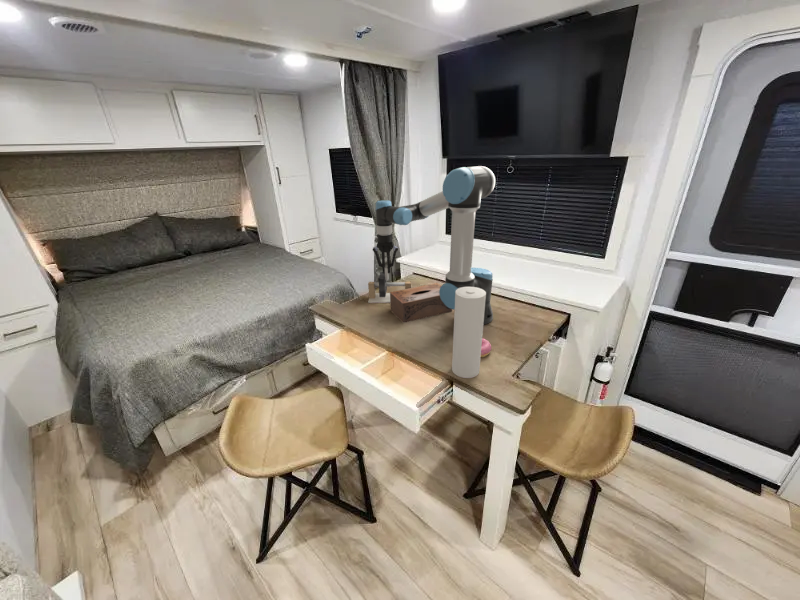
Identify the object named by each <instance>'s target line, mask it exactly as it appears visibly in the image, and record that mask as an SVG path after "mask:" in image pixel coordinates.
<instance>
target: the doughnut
mask: <svg viewBox="0 0 800 600" xmlns="http://www.w3.org/2000/svg"><path fill="white" fill-rule="evenodd" d="M491 352H492V344H491V343H490V341H489V340H487V339H485V338H484V337H482V346H481V357H480V358H484V357H487V356H488V355H489V354H490V353H491Z"/></svg>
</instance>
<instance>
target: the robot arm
mask: <svg viewBox="0 0 800 600" xmlns="http://www.w3.org/2000/svg"><path fill="white" fill-rule="evenodd" d="M495 186H496V176H495V174H494V173H493V171H492V170H491V169H490V168H488V167H486V166H482V165H478V166H467V167H466V166H462V167H458V168H455V169H452V170H451V171H450V172H449V173H448V174H447V175H446V176H445V178H444V180H443V183H442V191H439V192H438V193H436V194H434V195H431V196H429V197H427V198H425V199H422V200H421V201H418V202H417V203H414V204H408V205H403V206H393V205H392V201H391V200H388V199H387V200H385V199H384V200H377V201H375V221H376V222H375V223H376V233H377V235H376V238H377V239H376V240H377V243H376V245H375V246H373V248H372V251H373V253H374V255H375V258H376V259H375V260H376V261H377V264H378V267H380V268H381V269H382V272H383V274H385V280H386V281H389V274H391V268H392V267H394V264H395V259H396V256H397V252H398V250H399V247H398V246H396V245H395V244H394V239H393V238H394V237H393V234H392V233H393V224H394V225H399V226H407V225H410V223H411V222H416V221H422V220H425V219H427V218H429V216H432V215H435V214H437V213H439V212H441V211H445V210H446V209H450V210H451V226H450V227H451V229H450V231H451V232H450V253H449V254H450V255H449V271H448V272H447V273H446V274H445V279H444V280H445V281H444V282H445V283H443V284H441V287H440V290H439V294H440V298H441V300H442V302H443V303H444V304H445V305H446V306H447V307H448V308H450V309H452V310H454V311H455V291H456V290H457V289H458V288H461V287H477V288H480V289H483V290H484V291H485V292H486V299H485V311H484V322H483V325H487V324H489V323H492V321H493V319H494V312H493V309H492V306H491V305H492V304H491V300H492V299H491V298H492V287H493V272H492V271H491V270H489V269H486V268H482V267H472V265H473V249H474V237H475V225H476V223H475V222H476V212H477V211H478V210H479V209H480V208H481V201H482V200H481V199H485V198H486V197H488V196H489V195H491V194H492V192H493V191H494V188H495ZM392 250H393V254H392V259H391V256H390V254H391V253H390V252H391V251H392ZM379 251H380V252H381V258H380V255H379ZM385 253H386V254H385ZM385 255H386V256H385ZM385 257H386V258H385ZM386 263H387V264H386Z"/></svg>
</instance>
